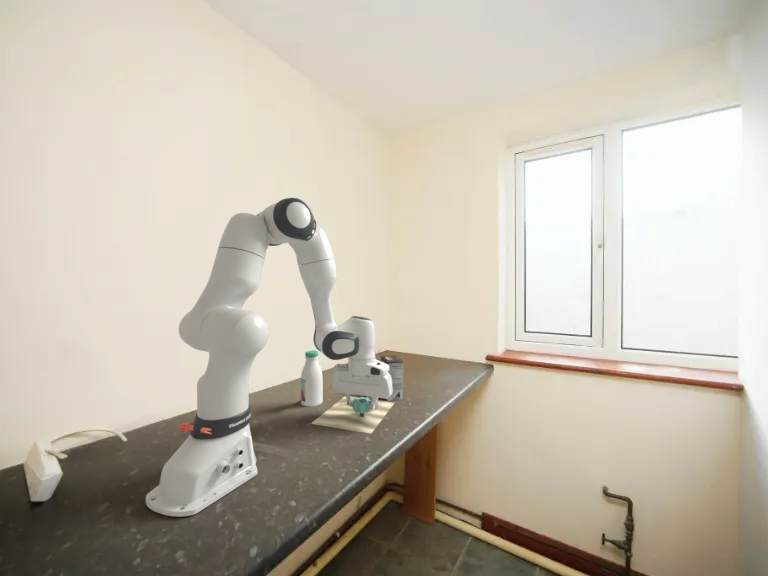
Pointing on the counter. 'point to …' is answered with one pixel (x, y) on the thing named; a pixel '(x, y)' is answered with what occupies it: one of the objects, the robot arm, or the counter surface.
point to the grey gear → (375, 404)
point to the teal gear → (361, 405)
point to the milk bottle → (311, 381)
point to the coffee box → (395, 376)
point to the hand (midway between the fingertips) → (361, 407)
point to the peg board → (353, 416)
